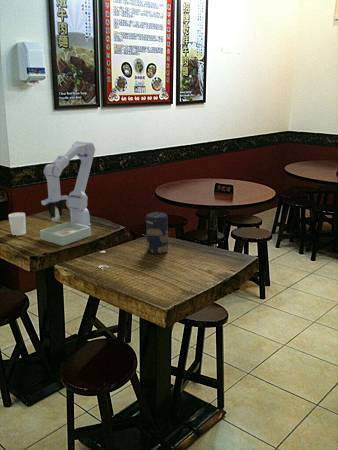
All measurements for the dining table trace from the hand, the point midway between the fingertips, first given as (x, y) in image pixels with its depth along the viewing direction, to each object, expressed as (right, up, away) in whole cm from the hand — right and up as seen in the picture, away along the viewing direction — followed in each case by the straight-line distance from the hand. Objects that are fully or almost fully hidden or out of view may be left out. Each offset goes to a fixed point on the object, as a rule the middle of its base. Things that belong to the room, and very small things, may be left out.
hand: (56, 216), depth 231 cm
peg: (0, -2, +1) cm, 3 cm away
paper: (+28, -21, -33) cm, 48 cm away
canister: (+50, -16, -21) cm, 57 cm away
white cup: (-20, -9, +5) cm, 22 cm away
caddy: (+5, -10, -1) cm, 12 cm away
